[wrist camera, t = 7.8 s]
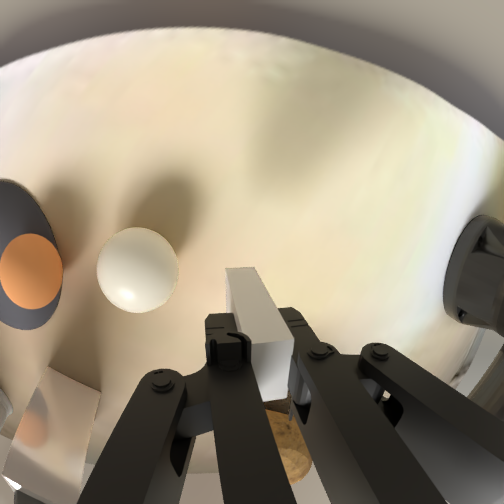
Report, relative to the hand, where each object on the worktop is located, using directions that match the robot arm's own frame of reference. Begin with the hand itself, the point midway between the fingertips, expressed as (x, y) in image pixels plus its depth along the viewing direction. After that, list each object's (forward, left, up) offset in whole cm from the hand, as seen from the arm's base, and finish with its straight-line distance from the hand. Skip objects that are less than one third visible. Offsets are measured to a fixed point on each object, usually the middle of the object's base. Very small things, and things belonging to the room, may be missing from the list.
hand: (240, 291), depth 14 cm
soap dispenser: (+19, +17, -7) cm, 26 cm away
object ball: (+15, 0, -4) cm, 15 cm away
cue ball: (+6, 0, -4) cm, 7 cm away
